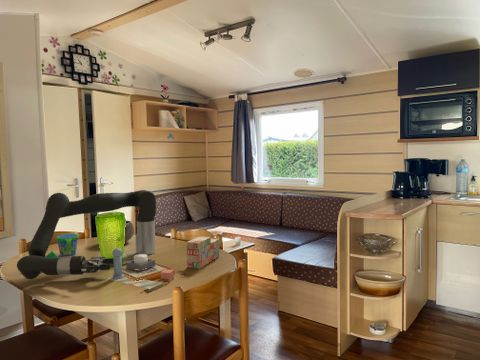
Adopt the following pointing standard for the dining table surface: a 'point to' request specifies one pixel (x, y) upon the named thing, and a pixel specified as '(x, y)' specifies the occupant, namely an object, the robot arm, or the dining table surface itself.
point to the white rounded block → (140, 258)
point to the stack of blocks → (201, 251)
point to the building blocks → (51, 255)
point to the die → (167, 275)
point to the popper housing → (140, 266)
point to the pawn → (117, 263)
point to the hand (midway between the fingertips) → (112, 263)
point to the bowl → (129, 231)
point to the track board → (140, 283)
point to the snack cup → (67, 244)
